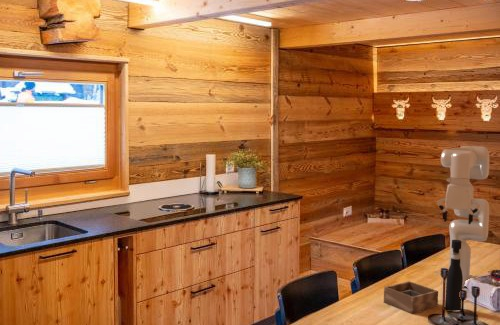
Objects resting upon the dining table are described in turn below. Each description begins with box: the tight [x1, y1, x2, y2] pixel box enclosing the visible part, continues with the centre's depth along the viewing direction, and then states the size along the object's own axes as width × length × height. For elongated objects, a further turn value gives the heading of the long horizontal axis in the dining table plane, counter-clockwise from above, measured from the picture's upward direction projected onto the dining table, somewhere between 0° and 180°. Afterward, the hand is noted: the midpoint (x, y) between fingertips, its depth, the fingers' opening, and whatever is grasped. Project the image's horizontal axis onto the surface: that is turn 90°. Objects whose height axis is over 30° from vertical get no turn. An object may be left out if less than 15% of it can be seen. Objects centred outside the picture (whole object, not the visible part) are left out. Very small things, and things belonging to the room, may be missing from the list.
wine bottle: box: [444, 240, 463, 311], centre depth 244 cm, size 6×6×30 cm
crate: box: [383, 280, 439, 315], centre depth 250 cm, size 16×16×7 cm
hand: (457, 222), depth 241 cm, fingers open, 9 cm apart
